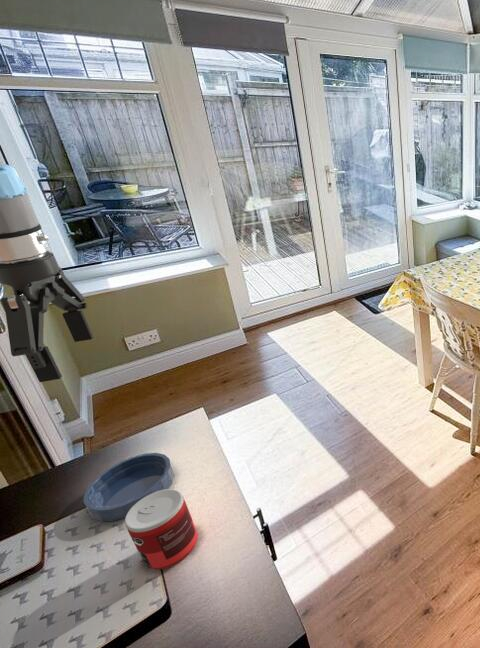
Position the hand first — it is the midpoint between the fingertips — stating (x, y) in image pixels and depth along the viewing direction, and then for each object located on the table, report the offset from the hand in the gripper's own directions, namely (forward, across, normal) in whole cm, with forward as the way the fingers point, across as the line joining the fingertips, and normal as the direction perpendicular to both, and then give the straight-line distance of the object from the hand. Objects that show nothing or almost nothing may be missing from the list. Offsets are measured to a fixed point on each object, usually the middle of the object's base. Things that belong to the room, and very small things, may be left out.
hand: (68, 358), depth 79 cm
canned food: (+29, -26, -15) cm, 42 cm away
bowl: (+29, -9, -5) cm, 30 cm away
